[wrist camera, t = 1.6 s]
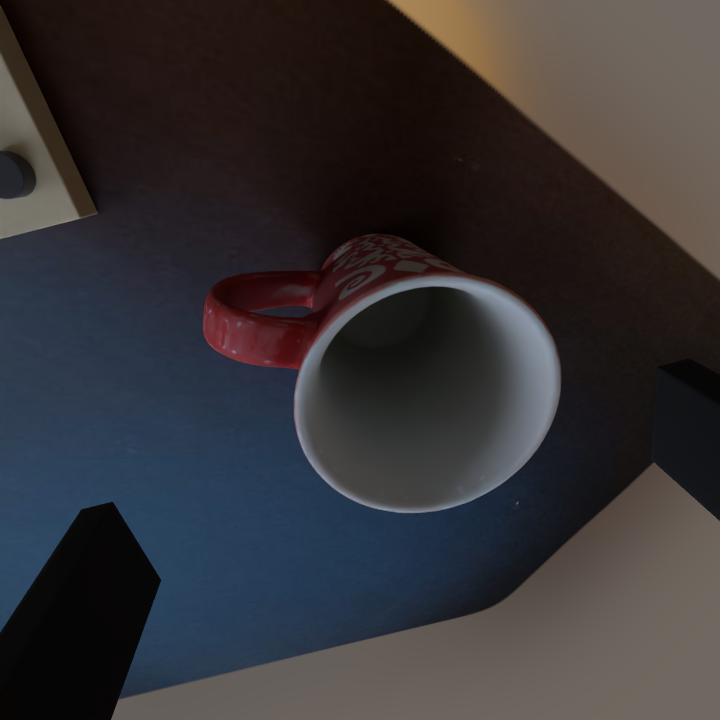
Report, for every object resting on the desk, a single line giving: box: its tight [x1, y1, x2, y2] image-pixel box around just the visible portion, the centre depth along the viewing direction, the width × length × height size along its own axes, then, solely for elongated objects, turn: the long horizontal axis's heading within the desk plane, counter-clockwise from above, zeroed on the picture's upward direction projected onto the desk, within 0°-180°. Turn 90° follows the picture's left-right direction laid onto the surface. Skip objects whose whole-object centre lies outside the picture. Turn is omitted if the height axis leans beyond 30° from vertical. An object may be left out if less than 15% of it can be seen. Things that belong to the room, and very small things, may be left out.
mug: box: [203, 234, 561, 513], centre depth 20 cm, size 13×9×14 cm
